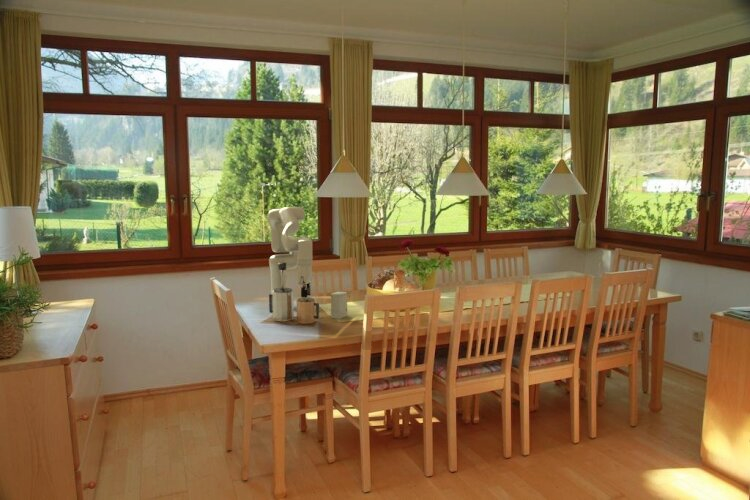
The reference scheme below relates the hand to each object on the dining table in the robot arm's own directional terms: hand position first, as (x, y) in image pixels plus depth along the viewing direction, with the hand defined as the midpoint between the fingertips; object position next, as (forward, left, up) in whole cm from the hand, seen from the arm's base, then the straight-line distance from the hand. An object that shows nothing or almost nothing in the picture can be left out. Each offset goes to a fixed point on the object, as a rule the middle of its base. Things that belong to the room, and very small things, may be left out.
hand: (305, 295), depth 305 cm
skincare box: (-15, +14, -16) cm, 26 cm away
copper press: (0, +1, -14) cm, 14 cm away
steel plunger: (-2, -14, -2) cm, 14 cm away
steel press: (-2, -15, -14) cm, 21 cm away
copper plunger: (0, 0, -11) cm, 11 cm away
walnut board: (-1, -8, -16) cm, 18 cm away
